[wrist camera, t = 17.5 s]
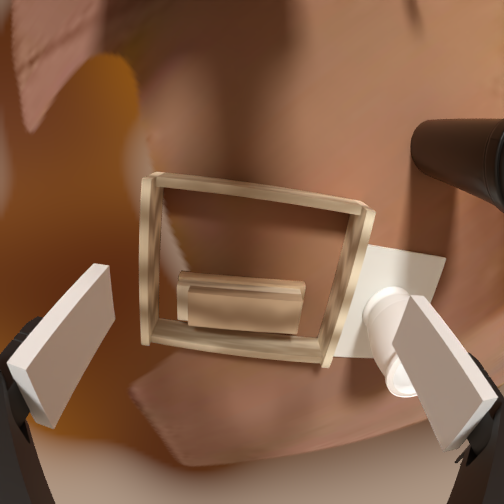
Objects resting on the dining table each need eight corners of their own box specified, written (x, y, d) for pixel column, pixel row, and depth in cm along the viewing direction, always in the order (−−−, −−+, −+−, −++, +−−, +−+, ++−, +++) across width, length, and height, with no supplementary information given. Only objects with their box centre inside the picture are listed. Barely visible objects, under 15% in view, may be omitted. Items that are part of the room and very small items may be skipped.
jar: (388, 267, 45) (433, 320, 31) (426, 299, 48) (470, 353, 34) (343, 318, 49) (369, 383, 35) (384, 344, 51) (414, 406, 37)
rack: (156, 171, 41) (141, 178, 36) (361, 201, 42) (376, 211, 37) (151, 322, 50) (141, 344, 44) (322, 344, 51) (329, 368, 46)
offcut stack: (181, 270, 47) (171, 289, 41) (303, 280, 47) (310, 300, 42) (181, 305, 49) (173, 327, 43) (297, 315, 49) (302, 337, 44)
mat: (358, 242, 45) (359, 243, 44) (444, 257, 45) (446, 258, 45) (325, 354, 52) (325, 355, 51) (405, 357, 53) (406, 358, 52)
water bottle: (426, 195, 42) (533, 253, 20) (392, 136, 39) (504, 152, 18) (470, 160, 40) (582, 195, 18) (441, 101, 37) (558, 101, 15)
